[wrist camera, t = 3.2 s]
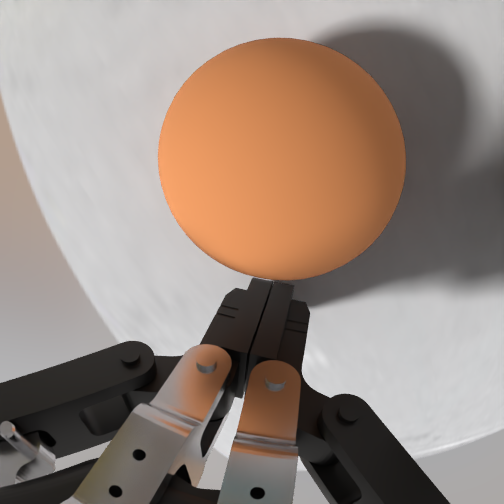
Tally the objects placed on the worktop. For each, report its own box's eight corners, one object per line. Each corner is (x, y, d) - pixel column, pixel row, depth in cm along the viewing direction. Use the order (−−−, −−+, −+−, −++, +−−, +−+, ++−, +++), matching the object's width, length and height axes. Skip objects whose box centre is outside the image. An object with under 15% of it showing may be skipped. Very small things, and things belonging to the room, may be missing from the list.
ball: (218, 54, 8) (107, 20, 3) (393, 77, 7) (469, 46, 2) (208, 210, 11) (118, 297, 6) (362, 238, 10) (381, 358, 5)
